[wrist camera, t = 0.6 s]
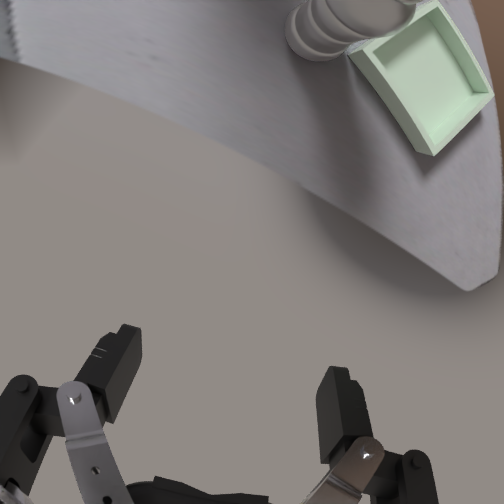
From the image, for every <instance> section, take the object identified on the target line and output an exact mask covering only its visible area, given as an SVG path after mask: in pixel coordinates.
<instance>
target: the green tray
mask: <svg viewBox="0 0 504 504" xmlns="http://www.w3.org/2000/svg"><path fill="white" fill-rule="evenodd" d="M348 56H349V57H350V58H351V60H352V61H353V62H354V63H355V65H356V66H357V67H358V68H359V70H360V71H361V72H362V73H363V75H364V76H365V77H366V79H367V80H368V81H369V82H370V84H371V85H372V86H373V88H374V89H375V90H376V92H377V93H378V95H379V96H380V97H381V99H382V100H383V102H384V103H385V104H386V106H387V107H388V109H389V110H390V112H391V113H392V115H393V116H394V118H395V119H396V121H397V122H398V124H399V125H400V127H401V128H402V130H403V131H404V133H405V134H406V136H407V138H408V139H409V141H410V142H411V144H412V146H413V147H414V149H415V151H416V152H420V153H423V154H427V155H431V156H435V155H436V154H437V153H438V152H439V151H440V150H441V149H442V148H443V147H444V146H445V145H446V144H447V143H448V142H449V141H450V140H451V139H452V138H453V137H454V136H455V135H456V134H457V133H458V132H459V131H460V130H461V129H462V128H463V127H464V126H465V125H466V124H467V123H468V122H469V121H470V120H471V119H472V118H473V117H474V116H475V115H476V114H477V113H478V112H479V111H480V110H481V109H482V108H483V107H484V106H485V105H486V104H487V103H488V102H489V101H490V100H491V99H492V97H493V96H494V93H493V91H492V89H491V87H490V85H489V83H488V81H487V79H486V77H485V75H484V73H483V71H482V69H481V67H480V65H479V64H478V62H477V60H476V58H475V56H474V55H473V53H472V51H471V49H470V48H469V46H468V44H467V43H466V41H465V39H464V38H463V36H462V34H461V33H460V31H459V30H458V28H457V27H456V25H455V24H454V22H453V21H452V19H451V18H450V16H449V15H448V13H447V12H446V10H445V9H444V8H443V6H442V5H441V4H440V2H439V1H438V0H432V1H429V2H427V3H424V4H422V5H420V6H418V7H416V10H415V14H414V17H413V19H412V20H411V22H410V23H409V24H408V25H407V27H406V28H405V29H404V30H403V31H401V32H400V33H398V34H395V35H393V36H388V37H383V38H373V39H369V40H368V41H366V42H365V43H364V44H362V45H361V46H359V47H358V48H357V49H355V50H354V51H353V52H351V53H350V54H349V55H348Z"/></svg>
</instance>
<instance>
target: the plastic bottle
mask: <svg viewBox="0 0 504 504" xmlns="http://www.w3.org/2000/svg"><path fill="white" fill-rule="evenodd" d="M421 1H422V0H308V1H306V2H304V3H302V4H300V5H299V6H297V7H296V8H294V9H293V10H292V11H291V12H290V14H289V15H288V17H287V20H286V24H285V37H286V40H287V42H288V44H289V46H290V47H291V49H292V50H293V51H294V52H295V53H296V54H298V55H299V56H300V57H302V58H304V59H307V60H310V61H317V62H322V61H330V60H333V59H335V58H337V57H338V56H340V55H341V54H342V53H343V52H344V51H345V50H346V49H347V48H348V46H350V45H351V44H353V43H355V42H358V41H361V40H364V39H373V38H383V37H388V36H393V35H395V34H398V33H400V32H401V31H403V30H404V29H405V28H406V27H407V25H408V24H409V23H410V22H411V20H412V19H413V17H414V14H415V10H416V3H418V2H421Z"/></svg>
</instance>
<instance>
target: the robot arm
mask: <svg viewBox="0 0 504 504" xmlns="http://www.w3.org/2000/svg"><path fill="white" fill-rule="evenodd" d="M141 359H142V339H141V329H140V328H138V327H134V326H131V325H127V324H123V325H122V326H121V328H120V329H119V331H118V332H117V334H115V333H112V332H109V333H108V334H107V335H105V336H103V337H102V338H101V339H100V340H99V342H98V343H97V345H96V346H95V348H94V349H93V351H92V352H91V355H90V356H89V357H88V359H87V360H86V362H85V363H84V365H83V367H82V368H81V370H80V371H79V373H78V375H77V376H76V378H75V379H74V380H73V381H70V382H66V383H64V384H62V385H61V386H60V387H59V388H53V387H45V386H38V384H37V382H36V380H35V379H34V378H33V377H31V376H28V375H18V376H16V377H14V378H13V379H11V380H10V382H9V383H8V385H7V386H6V388H5V389H4V391H3V393H2V394H1V396H0V504H33V502H32V501H31V499H30V498H29V497H28V496H29V493H30V491H31V488H32V485H33V483H34V480H35V478H36V475H37V473H38V470H39V468H40V465H41V463H42V460H43V458H44V456H45V453H46V451H47V449H48V447H49V444H50V442H51V440H52V437H53V436H61V437H66V442H65V444H66V448H67V452H68V456H69V459H70V462H71V466H72V469H73V472H74V475H75V478H76V481H77V484H78V487H79V490H80V493H81V495H82V498H83V501H84V503H85V504H271V503H269V502H268V498H269V496H262V495H251V494H244V493H236V494H220V495H211V494H207V493H205V492H202V491H200V490H198V489H195V488H193V487H191V486H188V485H187V484H184V483H182V482H178V481H174V480H170V479H165V478H162V477H158V476H155V477H154V480H153V481H144V482H136V483H132V484H129V485H127V486H125V484H124V481H123V479H122V477H121V475H120V472H119V470H118V467H117V465H116V463H115V460H114V457H113V455H112V453H111V450H110V447H109V445H108V442H107V439H106V437H105V434H104V431H103V429H102V428H103V426H104V424H105V421H107V422H109V423H112V424H113V423H114V421H115V419H116V417H117V415H118V412H119V410H120V408H121V406H122V403H123V401H124V399H125V397H126V394H127V392H128V390H129V388H130V386H131V384H132V382H133V379H134V377H135V375H136V373H137V371H138V369H139V366H140V363H141ZM366 408H367V406H366V402H365V397H364V393H363V389H362V388H361V386H360V385H359V383H358V382H357V381H356V380H350V375H349V370H348V368H345V367H336V366H330V367H329V368H328V370H327V372H326V374H325V376H324V378H323V380H322V382H321V384H320V386H319V388H318V390H317V394H316V409H317V421H318V432H319V446H320V459H321V464H329V465H330V470H329V471H328V472H327V474H326V475H325V476H324V477H323V478H322V480H321V481H320V482H319V483H318V484H317V486H316V487H315V488H314V489H313V490H312V491H311V492H310V494H309V495H308V496H307V497H306V498H305V499H304V500H303V501H302V502H301V503H300V504H358V503H359V501H360V500H361V498H362V495H361V493H364V494H368V495H370V501H371V504H439V503H438V497H437V492H436V486H435V481H434V476H433V472H432V467H431V463H430V460H429V458H428V456H427V455H426V454H425V453H424V452H422V451H420V450H409V451H408V452H406V453H405V454H404V455H400V454H397V453H393V452H389V451H386V450H384V448H383V446H382V444H381V443H380V442H379V441H378V440H376V439H375V438H374V437H373V433H372V428H371V423H370V419H369V414H368V410H367V409H366Z"/></svg>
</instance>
